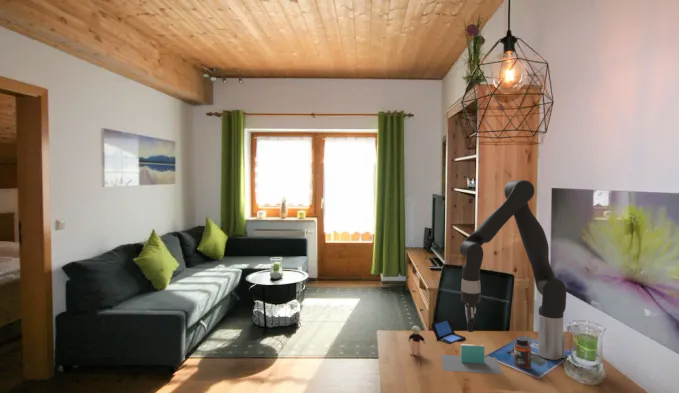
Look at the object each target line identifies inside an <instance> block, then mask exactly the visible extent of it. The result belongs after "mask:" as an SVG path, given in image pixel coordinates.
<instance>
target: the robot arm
mask: <svg viewBox="0 0 679 393" xmlns="http://www.w3.org/2000/svg"><path fill="white" fill-rule="evenodd" d="M503 190H504V191H503V192H504V196H505V198H506V199H505V201H504V202H503V203H502V204H501V205H500V206H498V208H496V209H495V210H493V212H492V213H490V214H489V215H488V216H486V218H485V219H484V220H483V221H482V222H481V224H479V225H478V227H477V229H476V230H475V231H474V232H472V233H471V234H470V235H469V236H467V237H466V238H465V239H464V240H463V241H462V242H461V245H460V246H459V253H460V254H461V255H462V256H463V257H465V258H466V259H465V264H464V265H462V268H461V286H460V287H461V288H460V300H461V302H463V303H466V304H464V308H465V318H466V322H467V323H466V325H467V326H466V329H467V330H466V331H467V332H468V333H473V332H474V324H475V323H476V317H477V314H476V312H477V307H476V304H479V303H481V267H482V263H483V260H484V249H483V247H482V246H483V245H484V244H488V243H490V242H491V241H492V240H493V238H494V237H495V236H496V235H497V234H498V233H499V232H500V230H502V228H503V227H504V225H506V223H507V222H508V221H509V220H510V219H512V217H514V220H515V222H516V227H517V229H518V232H519V235H520V239H521V243H522V245H523V248H524V250H525V253H526V255H527V258H528V261H529V263H530V265H531V266H530V267H531V269H532V273H533V277H534V281H535V287H536V290H537V292H538V293H539V294H540V295H541V296H542V298H541V299H542V300H541V305H540V306H539V307H538V326H537V327H538V329H537V330H538V335H537V336H538V338H537V339H538V340H537V342H538V343H537V344H538V345H537V347H538V352H537V353H538V355H539V356H540V357H541V356H542V358H543V359H546V360H553V361H559V360H558V359H560V360H562V359H561V358H565V359H566V336H565V334H564V315H565V314H564V313H565V310H566V307H567V306H566V305H567V287H566V284H565V283H564V282H563V281H562V280H561V279H559V278H557V277H556V276H555V274H554V271H553V268H552V266H551V264H550V258H549V254H550V252H549V250H550V249H549V248H550V247H549V243H548V239H547V236H546V232H545V230H544V228H543V227H542V225H541V223H540V221H539V220H538V219H537V217H535V215H534V214H533V212H532V211H531V209H530V205H529V202H530V201H531V200H532V199H533V197H534V194H535V191H536V190H535V186H534V185H533V183H532V182H531V181H529V180H524V179H519V180H511V181H508V182H507V183H506V184H505V186H504V189H503Z"/></svg>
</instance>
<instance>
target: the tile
mask: <svg viewBox="0 0 679 393" xmlns="http://www.w3.org/2000/svg"><path fill="white" fill-rule="evenodd" d="M460 356H461V362H465V363H482V364H484V357H485V345H484V344H472V343H471V344H469V343H460Z"/></svg>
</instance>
